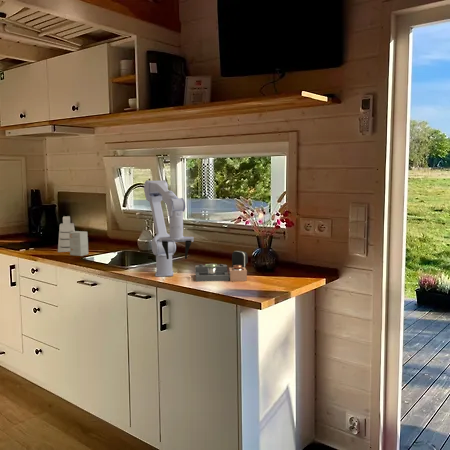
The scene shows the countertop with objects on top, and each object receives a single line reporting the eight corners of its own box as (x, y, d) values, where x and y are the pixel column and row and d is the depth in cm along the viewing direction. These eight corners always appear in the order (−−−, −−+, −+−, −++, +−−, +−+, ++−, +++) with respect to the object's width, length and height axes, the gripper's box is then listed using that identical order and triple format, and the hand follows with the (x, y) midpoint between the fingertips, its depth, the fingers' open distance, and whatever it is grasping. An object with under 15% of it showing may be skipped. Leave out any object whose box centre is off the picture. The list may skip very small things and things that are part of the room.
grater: (57, 252, 285) (56, 217, 283) (59, 249, 296) (57, 216, 293) (76, 251, 288) (75, 217, 286) (77, 248, 298) (76, 215, 296)
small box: (88, 254, 278) (87, 231, 276) (80, 256, 272) (79, 232, 271) (77, 253, 281) (76, 230, 280) (69, 255, 276) (68, 232, 274)
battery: (249, 276, 219) (249, 251, 218) (243, 278, 216) (243, 252, 215) (237, 274, 224) (237, 249, 222) (231, 275, 221) (231, 250, 220)
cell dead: (233, 278, 213) (233, 264, 213) (241, 278, 214) (241, 264, 213) (233, 280, 210) (233, 266, 209) (242, 280, 210) (242, 266, 209)
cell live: (207, 277, 215) (207, 263, 214) (216, 277, 215) (215, 263, 214) (207, 279, 211) (207, 265, 210) (216, 279, 211) (216, 265, 211)
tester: (195, 276, 221) (195, 263, 220) (226, 275, 222) (226, 263, 221) (196, 282, 208) (195, 269, 207) (229, 282, 209) (228, 269, 208)
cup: (228, 278, 215) (228, 267, 214) (244, 278, 216) (244, 267, 215) (230, 282, 208) (230, 271, 208) (246, 282, 209) (246, 270, 208)
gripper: (158, 228, 204) (159, 260, 205) (193, 227, 205) (194, 260, 206) (159, 226, 211) (160, 257, 212) (193, 225, 212) (193, 256, 213)
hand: (176, 258), depth 210 cm, fingers open, 7 cm apart
